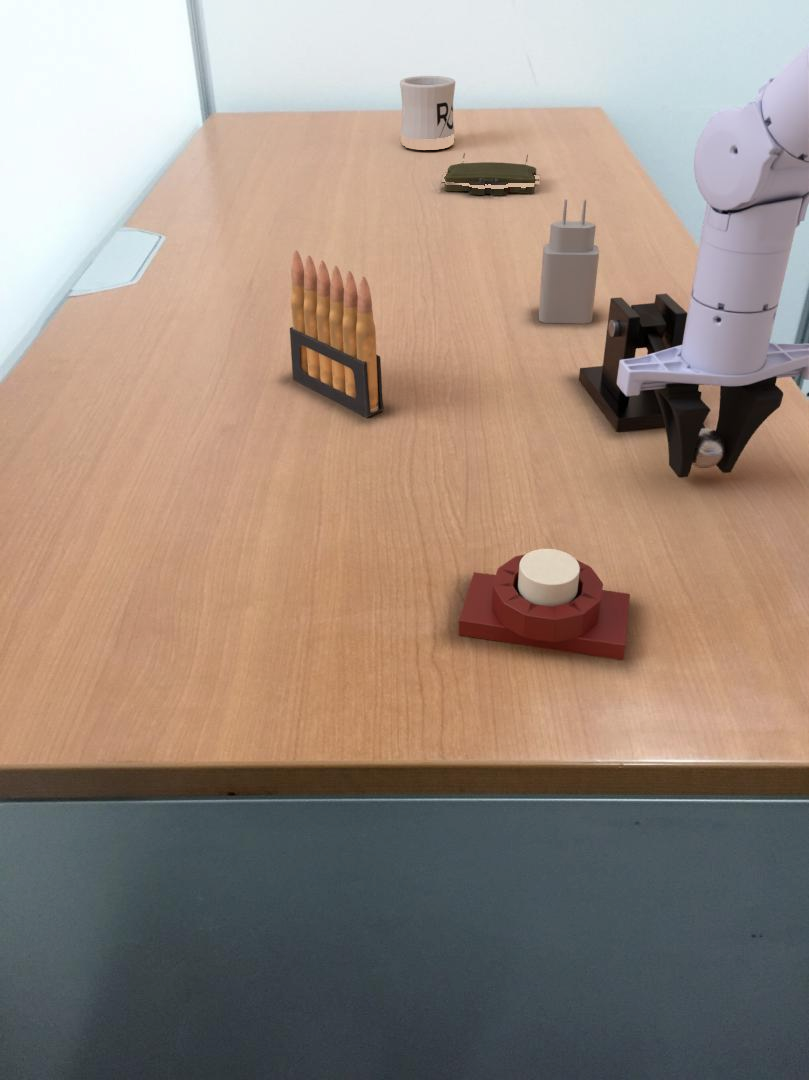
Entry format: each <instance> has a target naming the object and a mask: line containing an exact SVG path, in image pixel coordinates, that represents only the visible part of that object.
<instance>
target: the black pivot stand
mask: <svg viewBox="0 0 809 1080" xmlns="http://www.w3.org/2000/svg"><path fill="white" fill-rule="evenodd" d="M654 297H655V298H654V303H656V304H657V306H658V308H659V310H660V312H661V314H662V316H663V318H664V320H665V322H666V324H667V325H666V328H665V331H664V335H663V338H662V340H663V342H664V344H665V346H666V349H669V348H673V347H676V346H680V345H682V344H683V338H684V333H685V327H686V321H687V315H688V311H686V310H685V309H684V308H683V307H682V306H681V305H679V303H678V302H676V301H675V300H674V299H673V298H672V297H671V296H670V295H669V294H667V293H658V294H657V293H656V294H655V296H654ZM609 301H610V302H609V310H608V318H607V325H606V335H605V342H604V353H603V361H602V365H599V366H598V365H597V366H588V367H579V374H578V381H579V382H580V383H581V385H582V386H583V388H584V389H585V390H586V391H587V394H589V396H590V397H591V398H592V401H594V402H595V404H596V405H597V406H598V408H599V409H600V410H601V412H602V413H603V415H604V417H605V418H606V419H607V420H608V422H609V423H610V424H611V426H612V427H613V429H614V430H615V431H616V432H617V433H618V432H628V431H639V430H647V429H649V430H650V429H659V428H666V427H665V423H664V419H663V415H662V411H661V408H660V405H659V402H658V399H657V397H656V394H655V392H654V389H652V390H641V391H640V394H639V395H637V396H626V395H625V394H624V393H623V392H622V391H621V389H620V388H619V386H618V385H617V377H618V369H619V362H620V360H623V359H631V358H636V353H637V349H636V346H637V339H638V331H639V324H640V316H639V315H638V314H637V313H636V312H635V311H634V310H633V309H632V308H631V305H630V304H629V303H628V302H627V301H626V300H624V298H623V297H621V296H620V297H611V298H610V299H609ZM646 355H649V352H648V351H647V352H646Z"/></svg>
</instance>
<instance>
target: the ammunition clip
mask: <svg viewBox="0 0 809 1080" xmlns="http://www.w3.org/2000/svg"><path fill="white" fill-rule="evenodd" d="M290 269H291V270H290V273H291V274H290V275H291V296H290V297H291V298H290V308H291V318H292V326H291V327H289V336H290V337H289V339H290V341H289V342H290V356H291V357H290V358H291V367H292V368H291V372H292V381H293V380H294V381H295V382H297V383H299V384H301V385H303V386H305V387H307V388H309V389H311V390H312V391H315V392H316V393H318V394H319V395H320V394H321V395H322V396H324V397H326V398H328V399H330V400H332V401H334V402H335V403H337V404H339V405H341V406H343V407H345V408H347V409H349V410H351V411H353V412H355V413H357V414H359V415H361V416H362V417H364V418H366V419H367V418H370V417H371V416H374V415H376V414H379V413H380V412H382V411H384V399H383V381H382V361H381V355H378V354H377V334H376V332H377V331H376V325H375V321H374V311H373V300H372V294H371V289H370V286H369V282H368V280H367V278H366V277H365V276H362V277H361V279H360V281H359V285H358V289H357V284H356V283H357V282H356V280H355V278H354V277H355V276H354V274H353V272H352V271H350V270H349V271H348V272H347V274H346V275H345V279H344V280H345V281H343V277H342V273H341V271H340V268H339V267H338V266H337V265H334V266H333V269H332V272H331V276H330V273H329V270H328V267H327V264H326V262H325V261H324V260H321V261H320V263H319V265H318V270H317V269H316V265H315V261H314V259H313V258H312V256H311V255H307V257H306V260H305V264H303V260H302V257H301V255H300V253H299V251H298V250H295V251H294V252H293V255H292V260H291V267H290Z"/></svg>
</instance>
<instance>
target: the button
mask: <svg viewBox="0 0 809 1080" xmlns="http://www.w3.org/2000/svg"><path fill="white" fill-rule="evenodd" d="M525 554H526V555H525ZM525 554H523V555H524V556H523V558H522V559H521V561H520V565H519V578H518V590H519V592H520V594H521V595H522V597H523V598H525V599H526V600H528V601H530V602H532V603H533V604H539V605H545V606H552V607H553V606H558V605H563V604H567V603H569V602H571V601H572V600H573V599H574V598H575V596H576V595H577V590H578V582H579V573H580V566H579V564H578V562H577V560H578V559H577V558H575V557H574V556H572V555H571V554H569V553H568V552H565V551H562V550H559V549H554V548H538V549H534V550H531V551H529V552H527V553H525Z"/></svg>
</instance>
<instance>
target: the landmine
mask: <svg viewBox="0 0 809 1080" xmlns="http://www.w3.org/2000/svg"><path fill="white" fill-rule="evenodd" d="M465 156H466V153H465V152H464V153H463V156H462V159H463V158H464V159H465ZM528 157H529V154H526V157H525V158H526V159H525V163H526V162H527V163H528ZM446 173H447V174H446V176H445V177H444V179H445V181H446V182H454V183H469V184H470V185H484V186H485V184H487V185H488V184H491V185H506V184H508V183H535V181H539V179H535V176H534V175H537V167H535V166H532V165H528V164H527V165H526V164H523V163H511V162H496V161H495V162H493V161H492V162H491V161H490V162H489V161H488V162H486V161H485V162H484V161H482V162H465V163H464V162H463V163H462V162H461V163H455V164H451V165H449V166H448V167H447V172H446ZM440 184H444V190H445V191H446V192H468V194H470V195H472V196H473V195H474V196H475V195H476V196H485V194H486V195H487V194H488V195H490V196H500V197H501V196H503V197H504V196H507V195H508V194H511V193H515V194H516V193H517V194H534V193H535V188H536V185H535V186H534V187H526V188H521V187H508V188H504V189H491V188H485V189H478V188H472V187H469V186H462V185H446V184H445V182H440Z"/></svg>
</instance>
